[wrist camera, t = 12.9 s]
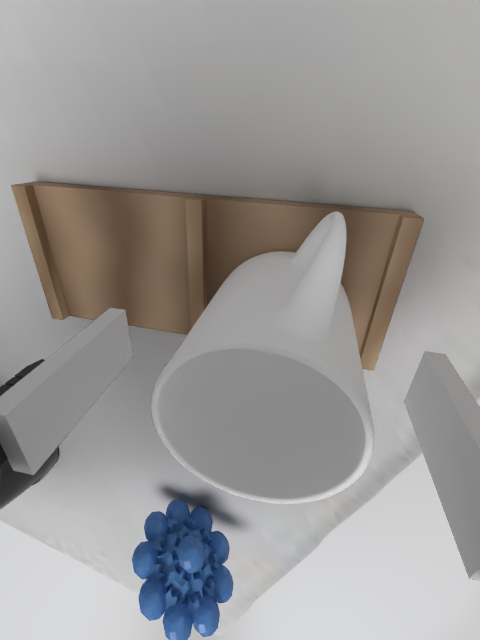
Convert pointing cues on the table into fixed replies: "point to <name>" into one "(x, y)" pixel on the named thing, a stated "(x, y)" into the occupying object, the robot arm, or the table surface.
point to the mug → (272, 380)
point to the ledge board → (198, 252)
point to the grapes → (183, 570)
